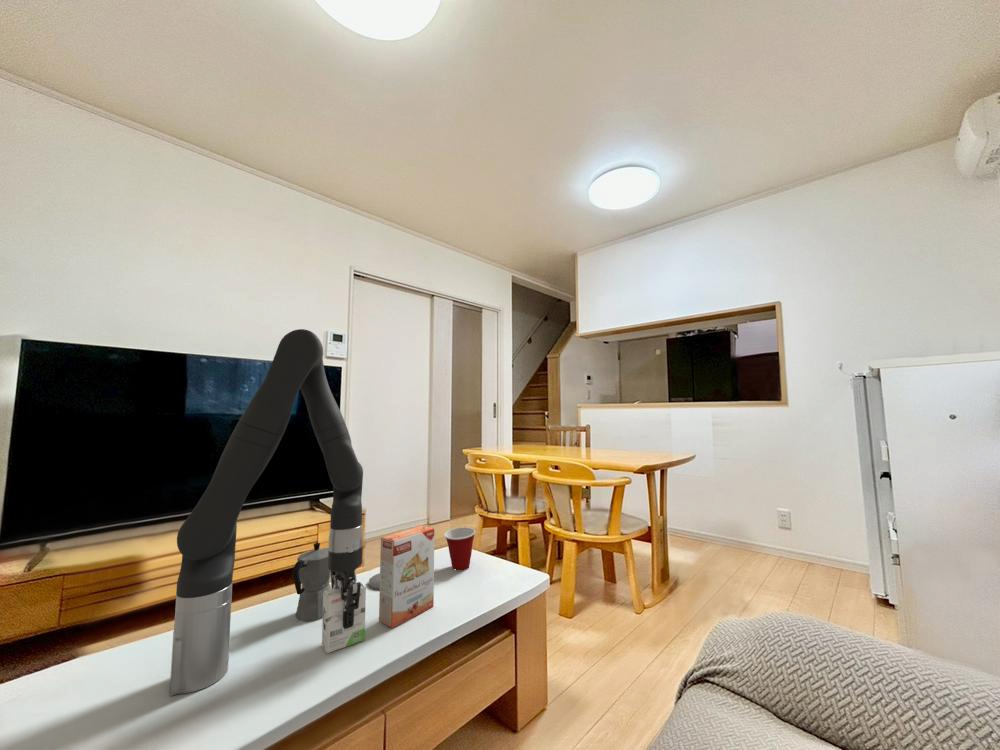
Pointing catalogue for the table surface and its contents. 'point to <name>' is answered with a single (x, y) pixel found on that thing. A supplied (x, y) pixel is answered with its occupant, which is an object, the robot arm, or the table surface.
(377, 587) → the glossy grey dome
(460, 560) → the plastic cup
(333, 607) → the ink box
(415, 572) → the cracker box
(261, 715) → the table surface
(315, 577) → the coffeepot
